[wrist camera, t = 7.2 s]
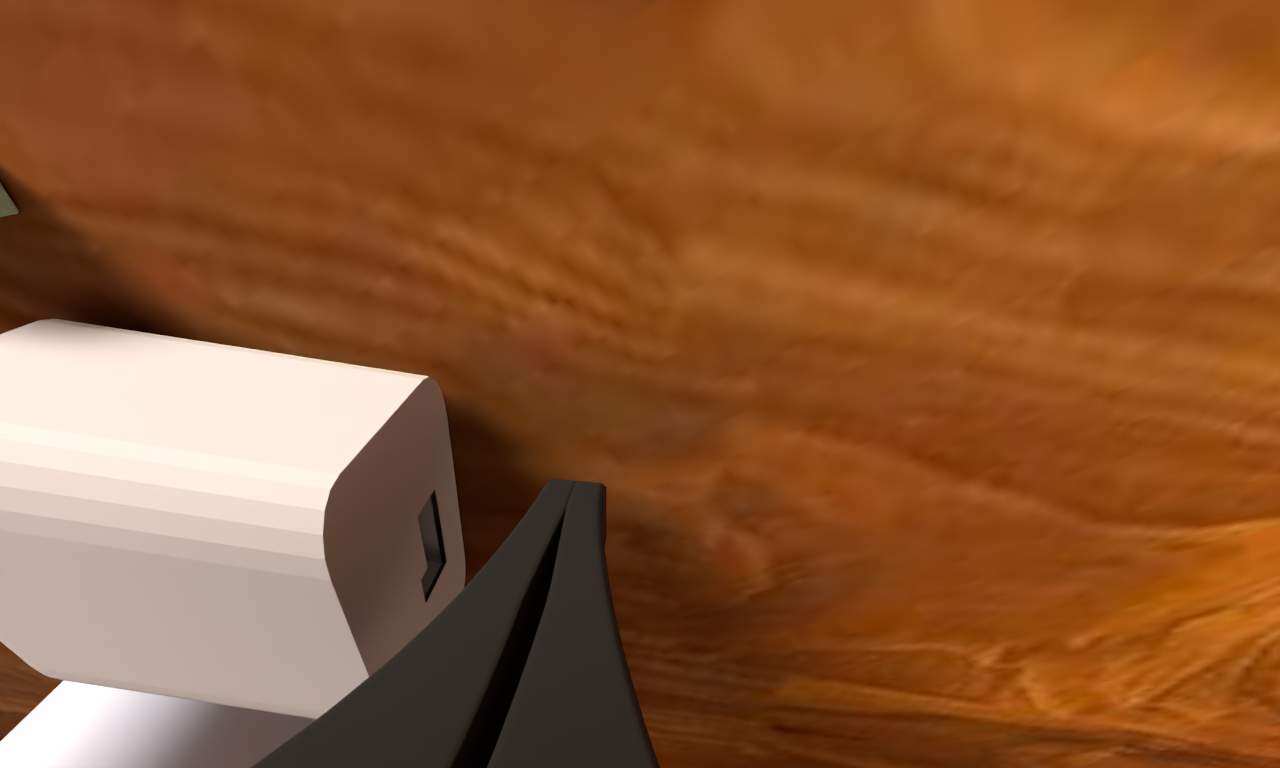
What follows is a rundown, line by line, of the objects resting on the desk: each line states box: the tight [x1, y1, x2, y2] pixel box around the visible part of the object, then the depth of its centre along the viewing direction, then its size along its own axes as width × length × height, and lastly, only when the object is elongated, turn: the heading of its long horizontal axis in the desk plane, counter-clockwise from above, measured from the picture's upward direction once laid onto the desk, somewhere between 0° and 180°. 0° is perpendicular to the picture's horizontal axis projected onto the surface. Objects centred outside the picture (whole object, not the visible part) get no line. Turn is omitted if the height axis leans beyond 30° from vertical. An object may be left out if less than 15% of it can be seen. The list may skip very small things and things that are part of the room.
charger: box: [0, 319, 466, 719], centre depth 12 cm, size 5×9×15 cm
